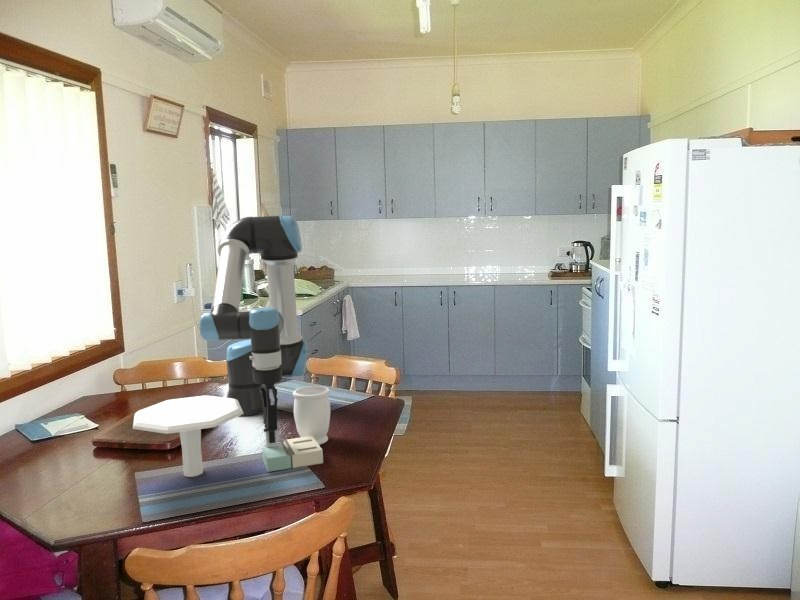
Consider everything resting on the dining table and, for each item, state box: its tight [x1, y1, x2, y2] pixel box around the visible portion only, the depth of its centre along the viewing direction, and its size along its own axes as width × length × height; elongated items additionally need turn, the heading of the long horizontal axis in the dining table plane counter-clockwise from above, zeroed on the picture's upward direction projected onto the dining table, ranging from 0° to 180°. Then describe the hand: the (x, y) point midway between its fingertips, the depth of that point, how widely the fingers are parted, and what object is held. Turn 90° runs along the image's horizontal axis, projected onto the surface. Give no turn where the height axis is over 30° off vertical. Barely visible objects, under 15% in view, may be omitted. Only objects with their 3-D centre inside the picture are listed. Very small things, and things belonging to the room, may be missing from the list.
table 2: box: [132, 394, 244, 478], centre depth 161 cm, size 28×28×17 cm
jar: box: [292, 385, 331, 446], centre depth 182 cm, size 11×10×15 cm
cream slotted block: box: [283, 436, 324, 469], centre depth 170 cm, size 12×8×4 cm, turn 21°
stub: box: [261, 443, 292, 473], centre depth 166 cm, size 8×6×4 cm
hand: (272, 452), depth 170 cm, fingers closed
